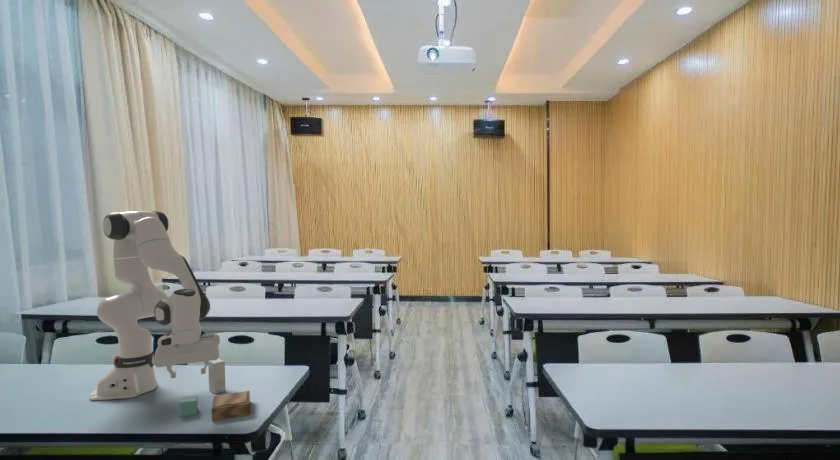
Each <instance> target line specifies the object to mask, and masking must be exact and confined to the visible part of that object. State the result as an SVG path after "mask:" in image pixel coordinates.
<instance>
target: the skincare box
mask: <svg viewBox="0 0 840 460" xmlns="http://www.w3.org/2000/svg"><path fill="white" fill-rule="evenodd" d="M207 367H208V369H207V370H208V391H210V392H211V393H212V394H215V395H218V394H219V393H223V392H226V361H225V360H223V359H221V358H220V357H219V358H218V359H217V360H211V361H209V364H208V366H207Z"/></svg>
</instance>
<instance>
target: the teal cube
mask: <svg viewBox="0 0 840 460" xmlns="http://www.w3.org/2000/svg"><path fill="white" fill-rule="evenodd" d="M198 403H199V402H198V395H188V396H182V397H181V398H180V400H179V417H180V418H182V417H187V416H188V417H189V416H194V415H195V416H196V415H197V413H198V408H199V407H198V405H199V404H198Z"/></svg>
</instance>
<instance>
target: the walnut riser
mask: <svg viewBox="0 0 840 460" xmlns="http://www.w3.org/2000/svg"><path fill="white" fill-rule="evenodd" d="M250 394H251V392H250V390H245V391H238V392H231V393H225V394H215V395H213V400H212V405H211V421H212V422H213V421H218V420H226V419H232V418H238V417H243V416H251V395H250Z"/></svg>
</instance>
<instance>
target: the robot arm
mask: <svg viewBox="0 0 840 460" xmlns="http://www.w3.org/2000/svg"><path fill="white" fill-rule="evenodd" d="M169 226H170V225H169V219H168V217H167V216H166V213H164V212H162V211H159V210H158V211H157V210H153V211H151V210H134V211H133V210H132V211H121V212H119V211H115V212H114V211H113V212H110V213H108V214H107V215H105V217H104V219H103V223H102V229H103V233H104V235H105V236H106V237H107V238H108V239H110V240H113V249H112V250H113V253H112V255H113V266H114V267H113V268H114V277H115V279H116V280H117V281H118V282H120V283H121V284H122V283H123V284H125V285H127V286H128V287H129V289H130V292H128V293H127V292H126V293H121V294H115V295H112V296H109V297H106V298H103V299H102V300H100V302H99V303H98V305H97V308H96V314H97V318H98V319H99V320H100V322H102V323H103V324H106V325H107V326H109V327H111V328H112V329H113V331H114V332H115V334H116V336H117V340H118V348H119V349H118V350H119V354H116V355H115V356H114V359H113V367H111V368H110V369H109V370H108V371H107V372H106V373H105V374H103V375H102V376H101V377H100V378H99V379H98V382H97V386H96V388H95V389H94V390H93V391H92V392H91V393H90V395H89V399H90V401H106V400H115V399H116V400H117V399H119V400H120V399H132V398H136V397H138V396H140V395H142V394H146V393H149V392H150V391H153V390H155V389H157V388H158V386H159V382H158V381H157V380H158V379H157V378H156V375H155V374H156V373H155V368H154V366H155V367H156V368H163V367H164V368H166V370H167V372H168V373H169V374H170V379H175V378H177V371H173V369H172V367H173V366H177V365H178V366H179V365H185V364H194V363H195V364H196V363H200V362H203V364H204V367H201V368H200V375H204V374H207V367H208V364H209V361H211V360H217V359H218V358H219V359H220V348H219V345H220V343H221V340H220V339H221V338H220V336H219V335H218V334H215V333H212V332H211V333H204V334H203V333H202V328H201V322H200V321H203V320H204V319H206V317H207V316H208V314H209V313H210V311H211V303H210V300H209V298H208V297H207V296H206V294H205V292H204V291H203V289H202V288H201V286H200V284H199V282H198V280H197V278H196V276H195V274H194V272H193V270H192V268H191V266H190V265H189V262H188V261H187V259H186V258H185V256H182V255H181V254H179V253H178V251H176V249H174V247H173V245H172V242H171V240H170V239H171V238H170V237H169V234H168V230H169ZM149 268H150V269H152V270H157V271H162V272H166V273H169V274H172V275H174V276H175V277H177V280H179V282H180V284H181V286H182V288H181V289H175V290H174V291H173V292H172V293H171V295H170V296H168V295H167V294H166V292H165V291H163V290H161V289H160V288H158V287H157V286H156V284H155V283H154V282H153V280H152V279H151V276H150V273H149ZM151 317H154V319H155V321H156V322H157V323H158V324H160V325H162V326H172V328H171V329H172V330H171V331H172V332H170V333H167V334H164V335H162V336H160V337H159V338H158V340H157V347H156V349H155V352H154V351H153V339H152V338H153V336H152V333H151V332H150V330H148V329H147V328H144V327H140V326H139V324H138V321H139V320H141V319H145V318H146V319H147V318H151Z"/></svg>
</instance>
